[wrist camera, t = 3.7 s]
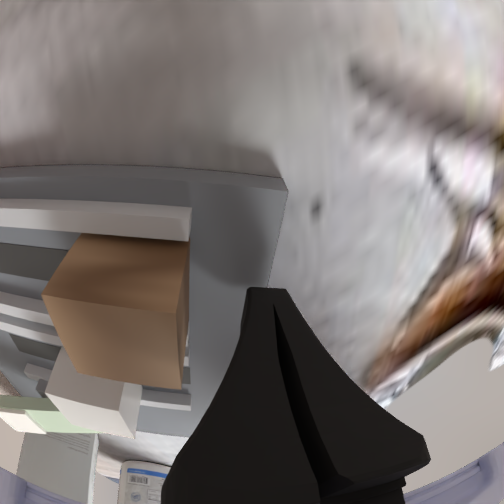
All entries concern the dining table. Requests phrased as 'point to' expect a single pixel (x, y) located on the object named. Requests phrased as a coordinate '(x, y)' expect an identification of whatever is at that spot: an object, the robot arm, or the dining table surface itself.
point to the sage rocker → (36, 416)
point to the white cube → (94, 399)
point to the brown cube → (123, 308)
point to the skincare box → (61, 463)
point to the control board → (145, 226)
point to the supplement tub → (141, 482)
